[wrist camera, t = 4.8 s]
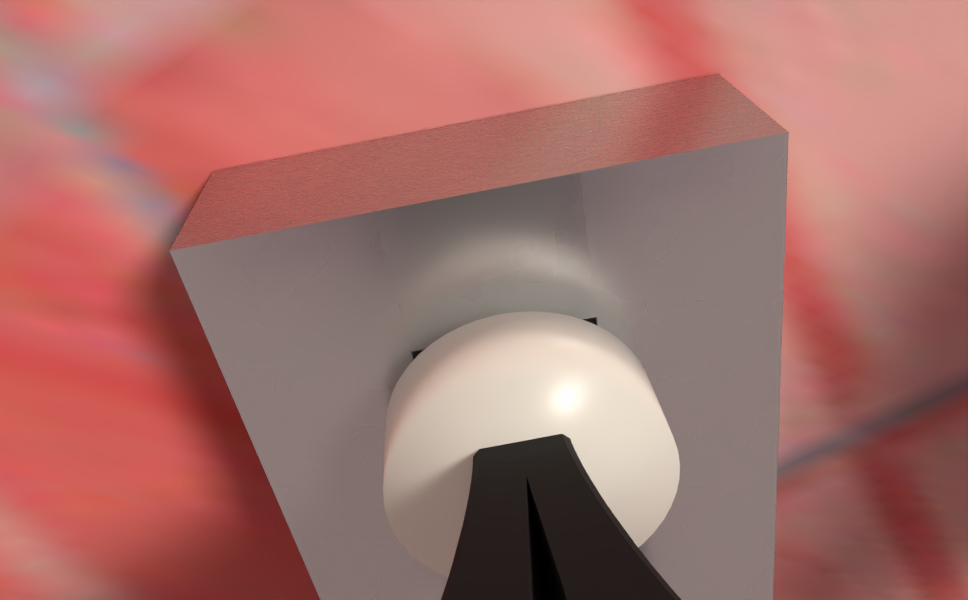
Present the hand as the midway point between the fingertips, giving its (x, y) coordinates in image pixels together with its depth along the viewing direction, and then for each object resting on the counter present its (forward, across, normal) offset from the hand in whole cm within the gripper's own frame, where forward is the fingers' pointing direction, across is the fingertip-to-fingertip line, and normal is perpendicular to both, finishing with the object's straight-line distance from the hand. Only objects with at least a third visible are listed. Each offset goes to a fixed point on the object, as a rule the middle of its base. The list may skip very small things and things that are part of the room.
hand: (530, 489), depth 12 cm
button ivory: (+4, 0, 0) cm, 4 cm away
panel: (+5, 0, +6) cm, 8 cm away
